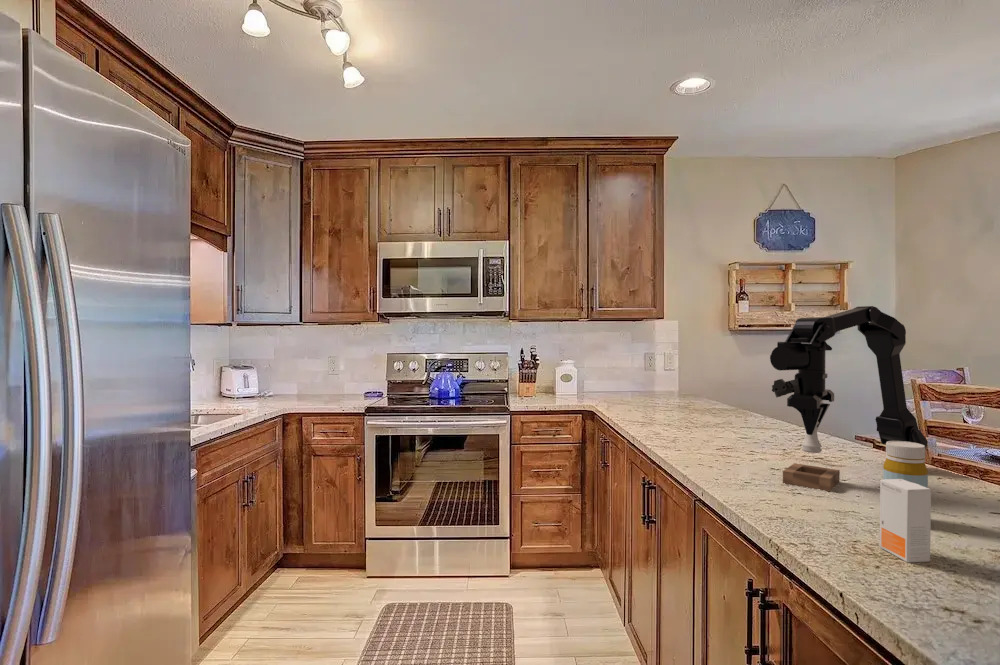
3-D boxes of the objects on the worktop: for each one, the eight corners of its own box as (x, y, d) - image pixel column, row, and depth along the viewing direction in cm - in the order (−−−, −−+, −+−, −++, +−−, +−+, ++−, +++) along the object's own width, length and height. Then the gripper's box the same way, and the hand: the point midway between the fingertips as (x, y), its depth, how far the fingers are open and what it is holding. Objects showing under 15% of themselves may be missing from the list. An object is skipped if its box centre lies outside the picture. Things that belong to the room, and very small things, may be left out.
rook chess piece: (819, 449, 134) (819, 416, 134) (824, 453, 130) (824, 420, 130) (798, 448, 135) (798, 416, 135) (803, 452, 131) (803, 419, 131)
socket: (794, 474, 140) (794, 463, 139) (839, 482, 133) (839, 470, 133) (782, 483, 132) (782, 471, 132) (830, 491, 125) (830, 478, 125)
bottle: (935, 527, 103) (935, 448, 103) (893, 525, 104) (894, 447, 104) (915, 515, 110) (915, 441, 110) (876, 513, 111) (876, 439, 111)
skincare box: (878, 548, 94) (878, 478, 94) (901, 547, 94) (901, 478, 94) (907, 563, 88) (908, 489, 88) (932, 562, 88) (932, 488, 88)
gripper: (786, 365, 145) (786, 424, 145) (764, 369, 131) (763, 434, 131) (834, 367, 137) (834, 429, 137) (816, 372, 123) (816, 441, 123)
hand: (811, 433), depth 132 cm, fingers closed on rook chess piece, 3 cm apart
